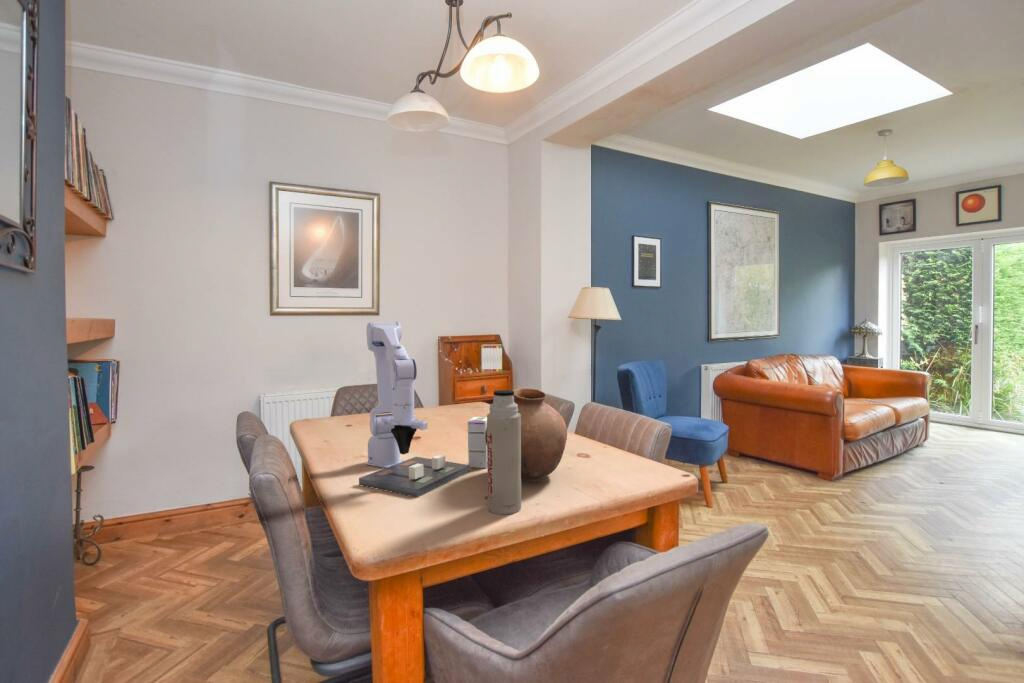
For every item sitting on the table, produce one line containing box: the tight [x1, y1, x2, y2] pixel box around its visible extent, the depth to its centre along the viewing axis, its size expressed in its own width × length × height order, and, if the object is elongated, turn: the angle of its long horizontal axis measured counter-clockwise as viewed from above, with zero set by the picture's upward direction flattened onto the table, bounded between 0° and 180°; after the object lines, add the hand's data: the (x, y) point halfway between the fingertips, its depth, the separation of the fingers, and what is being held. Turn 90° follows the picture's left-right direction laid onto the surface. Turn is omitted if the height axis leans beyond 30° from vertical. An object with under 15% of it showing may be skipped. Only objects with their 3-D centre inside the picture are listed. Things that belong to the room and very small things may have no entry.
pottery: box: [485, 387, 568, 481], centre depth 143 cm, size 23×23×25 cm
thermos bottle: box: [486, 389, 522, 515], centre depth 120 cm, size 8×8×28 cm
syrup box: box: [467, 416, 487, 469], centre depth 156 cm, size 6×6×14 cm
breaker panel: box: [358, 456, 471, 498], centre depth 144 cm, size 20×24×2 cm
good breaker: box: [431, 454, 446, 469], centre depth 146 cm, size 2×4×3 cm, turn 151°
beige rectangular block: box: [409, 463, 424, 479], centre depth 137 cm, size 2×4×3 cm, turn 151°
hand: (404, 453), depth 139 cm, fingers closed
